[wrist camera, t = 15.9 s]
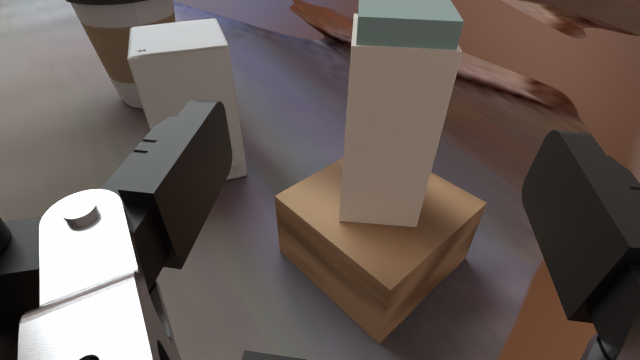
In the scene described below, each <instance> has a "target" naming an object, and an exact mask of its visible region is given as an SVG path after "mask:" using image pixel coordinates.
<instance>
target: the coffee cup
mask: <svg viewBox="0 0 640 360" xmlns="http://www.w3.org/2000/svg"><path fill="white" fill-rule="evenodd" d="M66 1H67V2H70V3H71V5H72V6H73V8H74V10H75V12H76V14H77V16H78V18H79V20H80V22H81V24H82V25H83V27H84V29H85V31H86V33H87V35H88V37H89V39H90V41H91V43H92V45H93V46H94V48H95V50H96V52H97V54H98V56H99V58H100V60H101V62H102V64H103V65H104V67H105V69H106V71H107V73H108V75H109V77H110V79H111V81H112V83H113V84H114V86H115V88H116V90H117V92H118V94H119V96H120V97H121V98H122V99H123V100H124V102H125V103H126V104H127V105H128V106H131V107H134V108H141V109H143V106H142V103H141V100H140V97H139V94H138V91H137V88H136V84H135V81H134V78H133V75H132V72H131V69H130V66H129V63H128V60H127V57H128V49H129V39H130V29H131V28H132V27H138V26H146V25H155V24H164V23H173V22H175V14H174V4H173V0H66Z"/></svg>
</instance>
